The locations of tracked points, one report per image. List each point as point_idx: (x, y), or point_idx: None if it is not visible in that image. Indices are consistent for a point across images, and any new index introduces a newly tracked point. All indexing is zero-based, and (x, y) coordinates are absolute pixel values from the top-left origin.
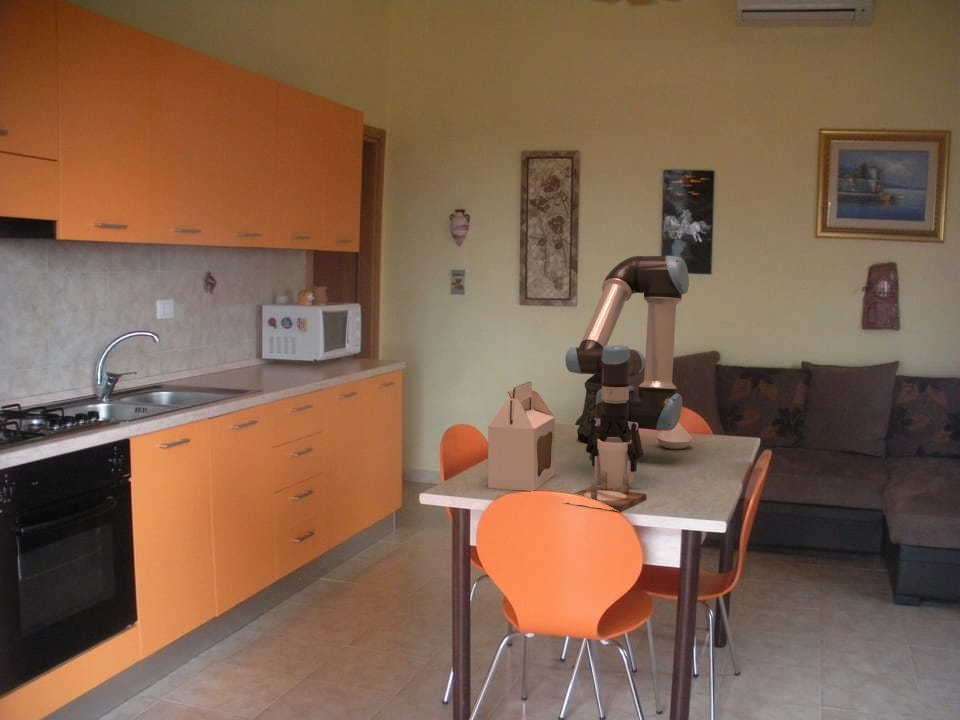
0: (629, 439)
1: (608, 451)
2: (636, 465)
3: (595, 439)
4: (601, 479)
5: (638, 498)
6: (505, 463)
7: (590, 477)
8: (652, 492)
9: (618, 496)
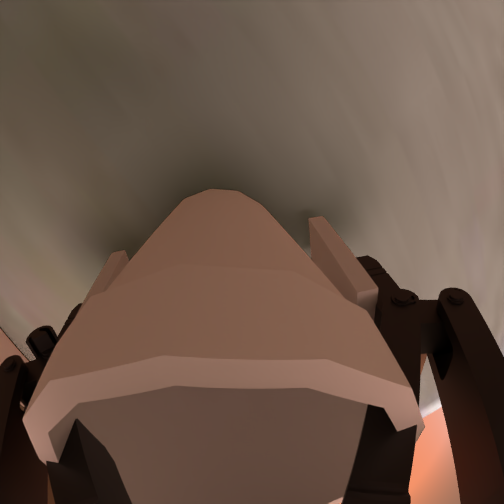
0: (412, 451)
1: (256, 468)
2: (387, 277)
3: (11, 441)
4: None
5: (420, 371)
6: (52, 494)
7: (24, 182)
8: (415, 221)
9: None
